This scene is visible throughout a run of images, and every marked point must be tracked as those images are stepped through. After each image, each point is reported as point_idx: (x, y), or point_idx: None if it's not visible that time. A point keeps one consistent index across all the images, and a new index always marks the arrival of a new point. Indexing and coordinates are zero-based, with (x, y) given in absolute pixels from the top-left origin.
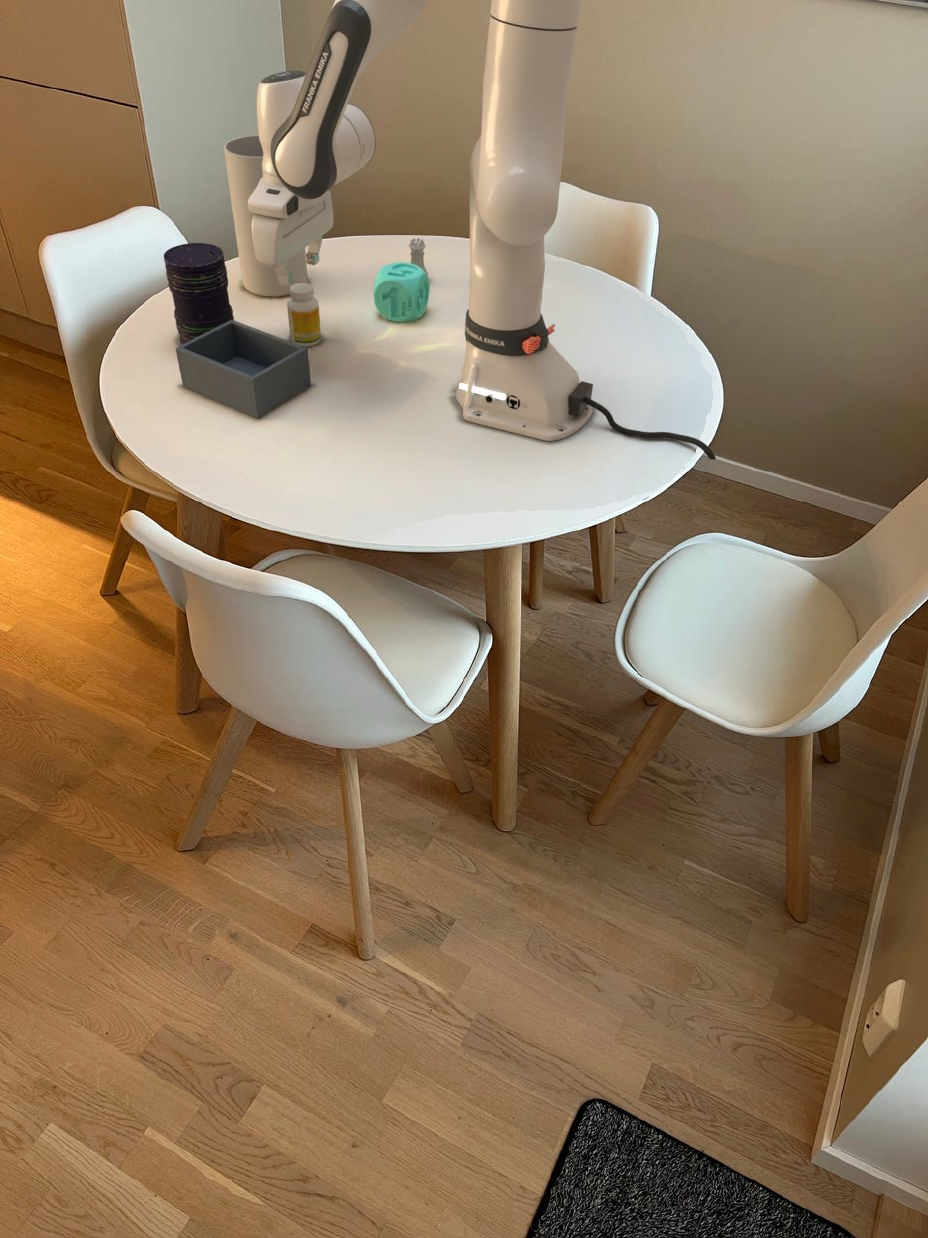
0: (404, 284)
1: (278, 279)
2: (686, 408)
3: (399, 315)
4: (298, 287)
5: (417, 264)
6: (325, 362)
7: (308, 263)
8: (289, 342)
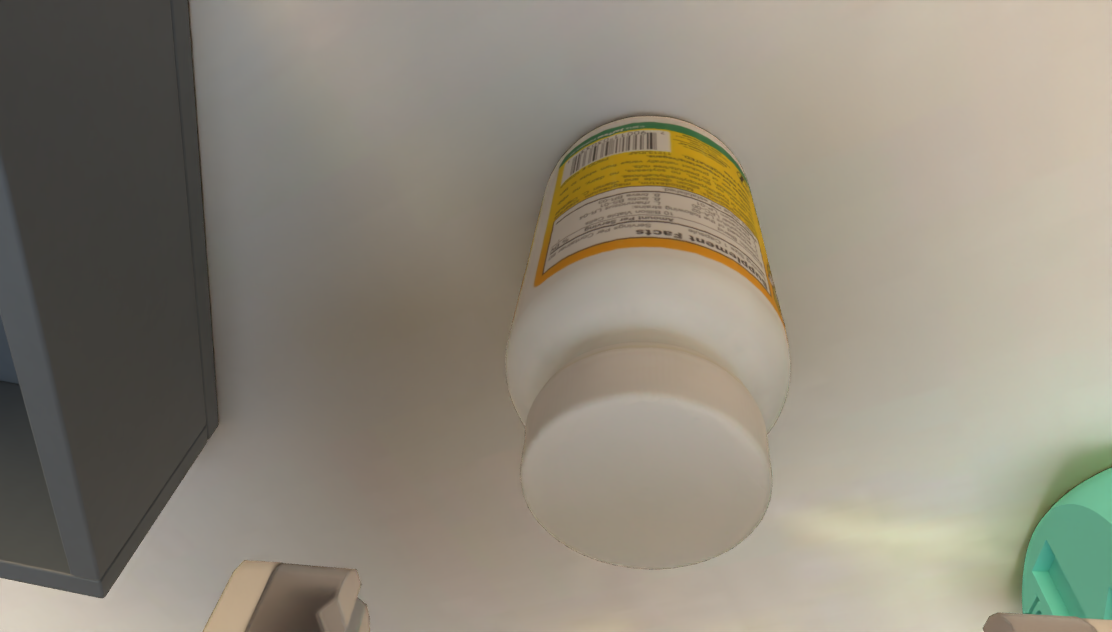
0: None
1: (217, 606)
2: None
3: (1036, 587)
4: (638, 466)
5: None
6: (453, 397)
7: (992, 624)
8: (70, 509)
